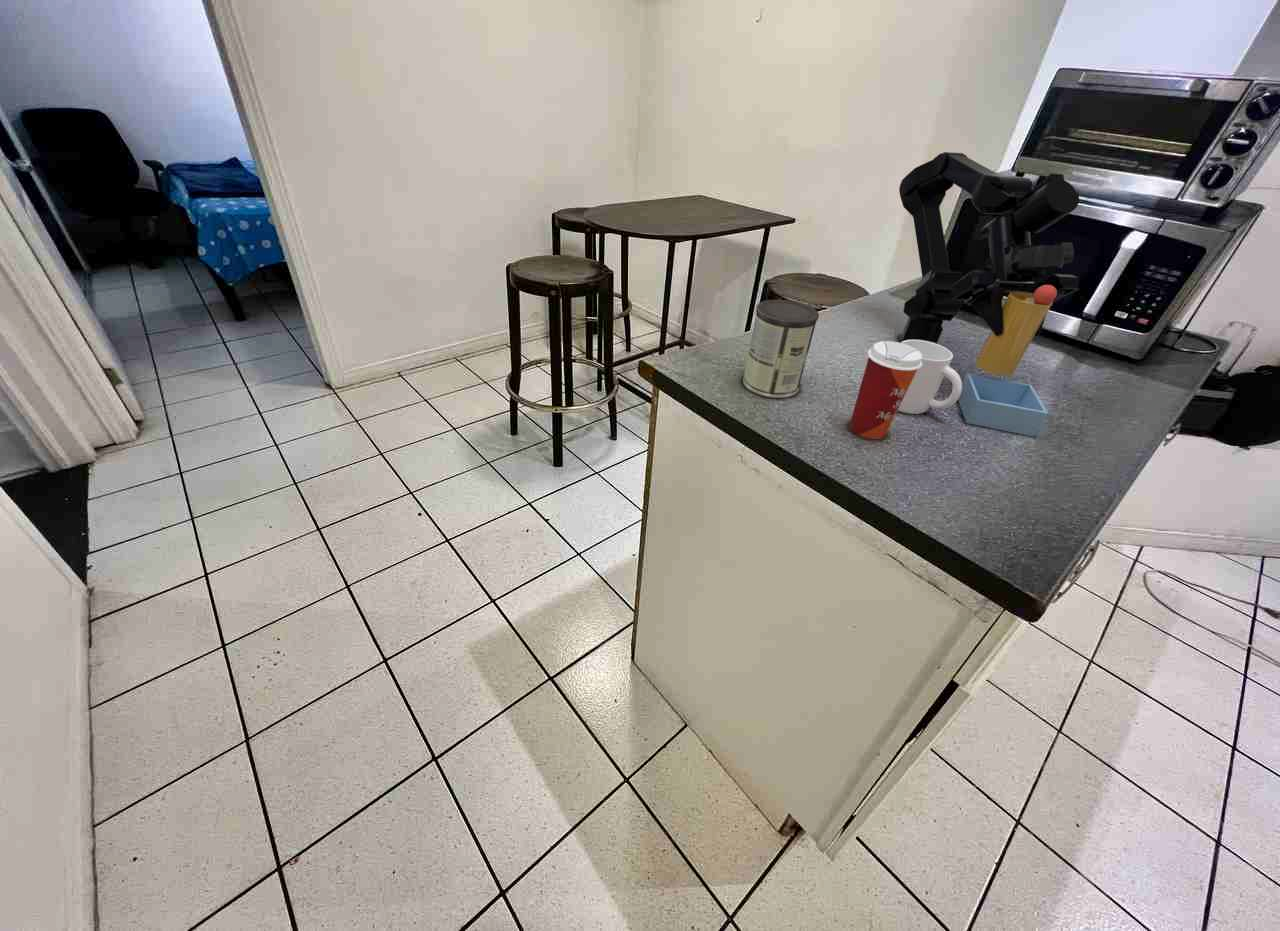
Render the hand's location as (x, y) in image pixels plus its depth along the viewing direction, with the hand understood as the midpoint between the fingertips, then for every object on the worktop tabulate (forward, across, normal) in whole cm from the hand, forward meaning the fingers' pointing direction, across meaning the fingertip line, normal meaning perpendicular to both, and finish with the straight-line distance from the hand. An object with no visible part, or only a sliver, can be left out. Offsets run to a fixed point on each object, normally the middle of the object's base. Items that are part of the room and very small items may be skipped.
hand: (1017, 335), depth 88 cm
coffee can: (+6, -39, +12) cm, 41 cm away
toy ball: (-5, 0, -5) cm, 7 cm away
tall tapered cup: (+4, 0, +6) cm, 7 cm away
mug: (+11, -15, +7) cm, 20 cm away
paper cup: (+16, -26, +2) cm, 31 cm away
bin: (+12, -1, +6) cm, 14 cm away
